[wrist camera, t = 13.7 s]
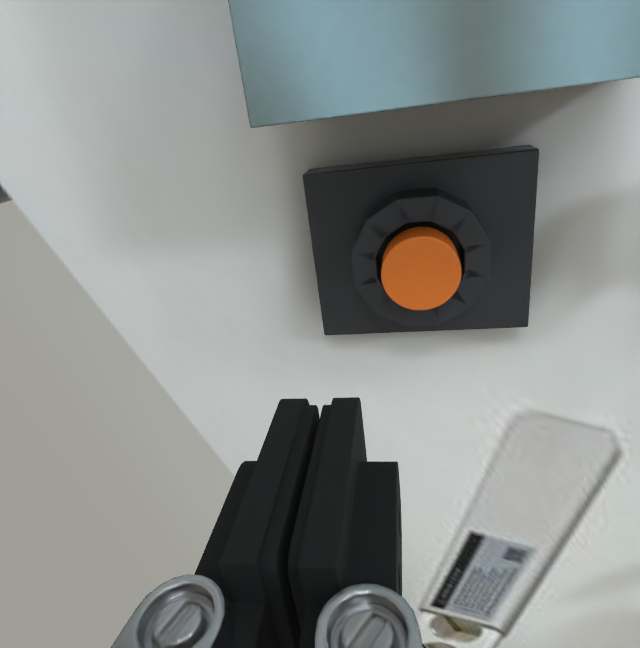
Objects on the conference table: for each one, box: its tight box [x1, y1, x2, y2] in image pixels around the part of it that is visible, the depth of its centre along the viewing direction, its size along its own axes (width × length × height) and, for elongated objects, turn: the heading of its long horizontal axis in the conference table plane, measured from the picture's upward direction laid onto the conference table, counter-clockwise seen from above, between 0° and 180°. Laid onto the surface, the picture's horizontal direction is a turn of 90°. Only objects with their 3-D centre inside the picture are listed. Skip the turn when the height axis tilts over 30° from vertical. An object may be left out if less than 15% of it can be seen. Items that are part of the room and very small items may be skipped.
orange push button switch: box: [303, 145, 539, 335], centre depth 25 cm, size 11×9×4 cm
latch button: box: [381, 227, 462, 310], centre depth 23 cm, size 4×4×2 cm
